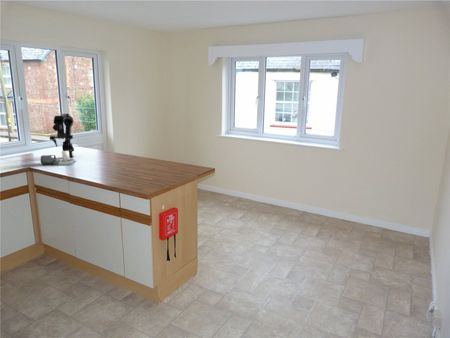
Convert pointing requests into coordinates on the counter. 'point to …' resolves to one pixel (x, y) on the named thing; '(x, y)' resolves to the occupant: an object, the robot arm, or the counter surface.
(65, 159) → the pump
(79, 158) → the counter surface
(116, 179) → the counter surface
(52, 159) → the motor
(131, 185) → the counter surface
